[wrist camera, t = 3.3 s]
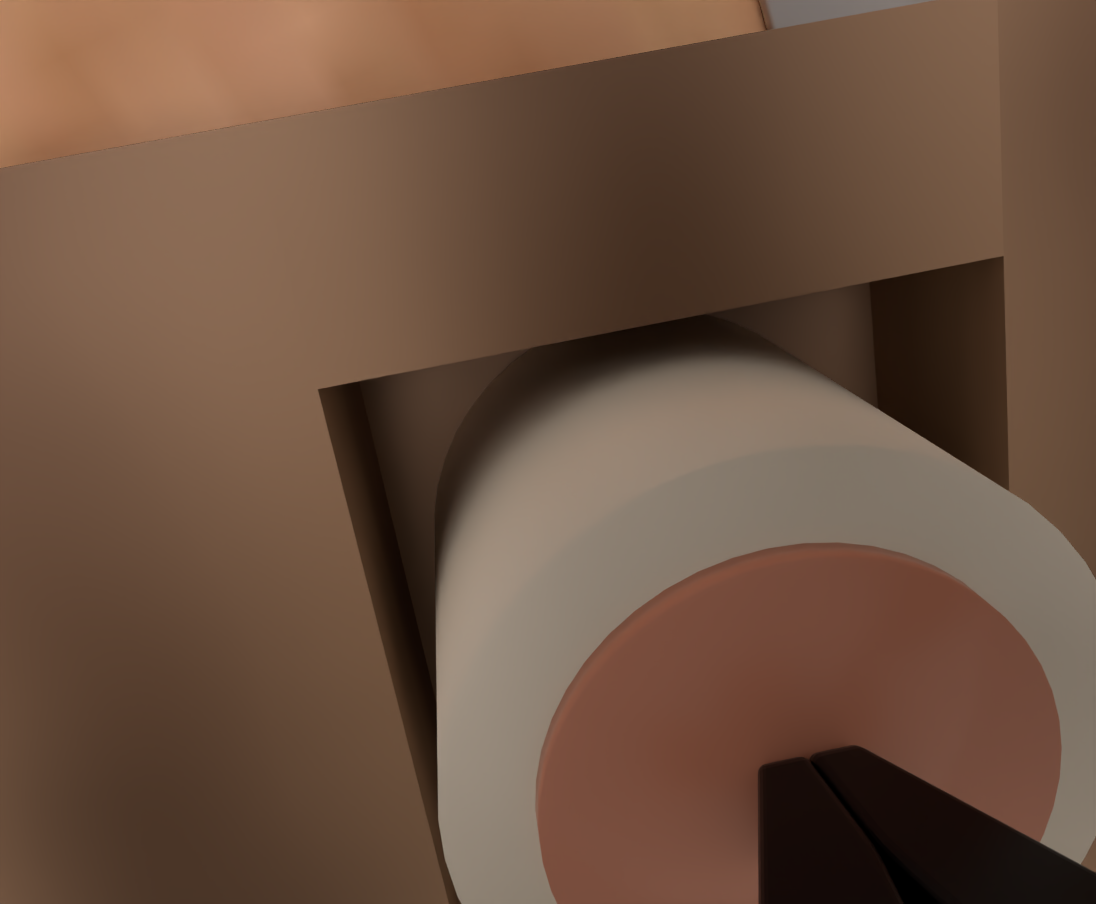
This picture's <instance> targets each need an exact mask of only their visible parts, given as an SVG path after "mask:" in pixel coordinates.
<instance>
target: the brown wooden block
mask: <svg viewBox="0 0 1096 904" xmlns="http://www.w3.org/2000/svg"><path fill="white" fill-rule="evenodd" d="M702 314H706V315H710V316H713V317H717V318H721V319H724V320H728V321H731V322H733V323H735V324H738V325H740V326H742V327H744V328H747V329H749V330H751V331H753V332H756V333H757V334H759V335H761V336H762V337H764V338H765V339H767V340H769V341H770V342H772V343H773V344H775V345H777V346H778V347H780V348H781V349H783V350H785V351H786V352H788V353H789V354H791V355H793V356H794V357H796V358H797V359H799V360H800V361H802V362H804V363H805V364H807V365H808V366H810V367H812V368H813V369H815V370H816V371H818V372H820V373H821V374H823V375H824V376H826V377H828V378H829V379H831V380H832V381H834V382H836V383H837V384H839V385H840V386H842V387H843V388H845V389H847V390H848V391H850V392H851V393H853V394H855V395H856V396H858V397H859V398H861V399H863V400H864V401H866V402H867V403H869V404H871V405H872V406H874V407H875V408H877V409H879V410H880V411H882V412H883V413H885V414H886V415H888V416H890V417H891V418H893V419H894V420H896V421H898V422H899V423H901V424H902V425H904V426H906V427H907V428H909V429H910V430H912V431H914V432H915V433H917V434H918V435H920V436H922V437H923V438H925V439H926V440H928V441H930V442H931V443H933V444H934V445H936V446H937V447H939V448H941V449H942V450H944V451H945V452H947V453H949V454H950V455H952V456H953V457H955V458H957V459H958V460H960V461H961V462H963V463H965V464H966V465H968V466H969V467H971V468H973V469H974V470H976V471H977V472H979V473H980V474H982V475H984V476H985V477H987V478H988V479H990V480H992V481H993V482H995V483H996V484H998V485H1000V486H1001V487H1003V488H1004V489H1006V490H1008V491H1009V492H1011V493H1012V494H1014V495H1016V496H1017V497H1019V498H1020V499H1022V500H1023V501H1025V502H1027V503H1028V504H1029V505H1031V506H1032V507H1033V508H1034V509H1035V510H1036V511H1037V512H1039V513H1040V514H1041V515H1042V516H1043V517H1044V518H1046V519H1047V520H1048V521H1049V522H1050V523H1051V524H1052V525H1054V526H1055V527H1056V528H1057V529H1058V530H1059V531H1060V532H1061V533H1062V534H1063V535H1064V537H1065V538H1066V539H1067V540H1068V541H1069V543H1070V544H1071V545H1072V546H1073V547H1074V549H1075V550H1076V551H1077V552H1078V553H1079V555H1080V556H1081V557H1082V558H1083V559H1084V561H1085V562H1086V564H1087V565H1088V567H1089V569H1090V570H1091V572H1092V574H1093V576H1094V577H1095V579H1096V0H934V1H928V2H922V3H917V4H911V5H906V6H900V7H895V8H889V9H884V10H878V11H872V12H867V13H861V14H856V15H850V16H845V17H839V18H833V19H828V20H822V21H817V22H811V23H806V24H800V25H795V26H789V27H783V28H778V29H772V30H767V31H761V32H756V33H750V34H744V35H739V36H733V37H728V38H722V39H717V40H711V41H706V42H700V43H694V44H689V45H683V46H678V47H672V48H667V49H661V50H655V51H650V52H644V53H639V54H633V55H628V56H622V57H616V58H611V59H605V60H600V61H594V62H589V63H583V64H578V65H572V66H566V67H561V68H555V69H550V70H544V71H539V72H533V73H527V74H522V75H516V76H511V77H505V78H500V79H494V80H489V81H483V82H477V83H472V84H466V85H461V86H455V87H450V88H444V89H438V90H433V91H427V92H422V93H416V94H411V95H405V96H400V97H394V98H388V99H383V100H377V101H372V102H366V103H361V104H355V105H349V106H344V107H338V108H333V109H327V110H322V111H316V112H310V113H305V114H299V115H294V116H288V117H283V118H277V119H272V120H266V121H260V122H255V123H249V124H244V125H238V126H233V127H227V128H221V129H216V130H210V131H205V132H199V133H194V134H188V135H183V136H177V137H171V138H166V139H160V140H155V141H149V142H144V143H138V144H132V145H127V146H121V147H116V148H110V149H105V150H99V151H94V152H88V153H82V154H77V155H71V156H66V157H60V158H55V159H49V160H43V161H38V162H32V163H27V164H21V165H16V166H10V167H4V168H0V904H461V902H460V900H459V898H458V896H457V894H456V891H455V888H454V885H453V882H452V879H451V876H450V873H449V870H448V867H447V864H446V861H445V857H444V851H443V846H442V840H441V834H440V828H439V822H438V764H437V685H436V607H435V526H434V510H435V502H436V495H437V487H438V482H439V479H440V475H441V471H442V468H443V464H444V460H445V457H446V455H447V453H448V450H449V448H450V446H451V443H452V441H453V439H454V436H455V434H456V432H457V430H458V428H459V427H460V425H461V423H462V422H463V420H464V418H465V417H466V415H467V413H468V412H469V410H470V408H471V407H472V406H473V404H474V403H475V402H476V401H477V399H478V398H479V397H480V396H481V394H482V393H483V392H484V391H485V389H486V388H487V387H488V385H489V384H490V383H491V382H492V381H493V380H494V379H496V378H497V377H498V376H499V375H500V374H501V373H502V372H503V371H504V370H505V369H506V368H507V367H508V366H509V365H510V364H511V363H513V362H514V361H515V360H517V359H518V358H519V357H521V356H522V355H523V354H525V353H526V352H527V351H529V350H530V349H531V348H533V347H537V346H543V345H548V344H553V343H558V342H563V341H568V340H573V339H579V338H584V337H589V336H594V335H599V334H604V333H610V332H615V331H620V330H625V329H630V328H635V327H640V326H646V325H651V324H656V323H661V322H666V321H671V320H676V319H682V318H687V317H692V316H697V315H702ZM1081 865H1083V866H1085V867H1087V868H1088V869H1090V870H1092V871H1094V872H1096V837H1095V839H1094V841H1093V843H1092V845H1091V847H1090V849H1089V850H1088V852H1087V854H1086V856H1085V858H1084V860H1083V861H1082V863H1081Z"/></svg>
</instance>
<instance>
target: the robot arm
mask: <svg viewBox="0 0 1096 904" xmlns="http://www.w3.org/2000/svg"><path fill="white" fill-rule="evenodd" d="M758 904H1096V872H1094V871H1092V870H1090V869H1088V868H1087V867H1085V866H1083V865H1081V864H1079V863H1077V862H1075V861H1074V860H1072V859H1070V858H1068V857H1066V856H1064V855H1062V854H1061V853H1059V852H1057V851H1055V850H1053V849H1051V848H1049V847H1048V846H1046V845H1044V844H1042V843H1040V842H1038V841H1036V840H1034V839H1033V838H1031V837H1029V836H1027V835H1025V834H1023V833H1021V832H1020V831H1018V830H1016V829H1014V828H1012V827H1010V826H1008V825H1007V824H1005V823H1003V822H1001V821H999V820H997V819H995V818H994V817H992V816H990V815H988V814H986V813H984V812H982V811H980V810H979V809H977V808H975V807H973V806H971V805H969V804H967V803H966V802H964V801H962V800H960V799H958V798H956V797H954V796H953V795H951V794H949V793H947V792H945V791H943V790H941V789H940V788H938V787H936V786H934V785H932V784H930V783H928V782H926V781H925V780H923V779H921V778H919V777H917V776H915V775H913V774H912V773H910V772H908V771H906V770H904V769H902V768H900V767H899V766H897V765H895V764H893V763H891V762H889V761H887V760H886V759H884V758H882V757H880V756H878V755H876V754H874V753H872V752H871V751H869V750H867V749H865V748H863V747H860V746H857V745H849V746H845V747H840V748H836V749H831V750H827V751H822V752H817V753H815V754H813V755H812V756H811V757H810V759H809V760H808V759H806V758H804V757H795V758H790V759H786V760H781V761H776V762H772V763H767V764H764V765H762V766H761V767H760V768H759V770H758Z"/></svg>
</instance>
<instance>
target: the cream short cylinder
mask: <svg viewBox="0 0 1096 904" xmlns="http://www.w3.org/2000/svg"><path fill="white" fill-rule="evenodd" d="M434 526H435V607H436V685H437V764H438V822H439V828H440V834H441V840H442V846H443V851H444V857H445V861H446V864H447V867H448V870H449V873H450V876H451V879H452V882H453V885H454V888H455V891H456V894H457V896H458V898H459V900H460V902H461V904H758V770H759V768H760V767H761V766H762V765H764V764H767V763H772V762H776V761H781V760H786V759H790V758H795V757H804V758H806V759H808V760H809V759H810V757H811V756H812V755H813V754H815V753H817V752H822V751H827V750H831V749H836V748H840V747H845V746H849V745H857V746H860V747H863V748H865V749H867V750H869V751H871V752H872V753H874V754H876V755H878V756H880V757H882V758H884V759H886V760H887V761H889V762H891V763H893V764H895V765H897V766H899V767H900V768H902V769H904V770H906V771H908V772H910V773H912V774H913V775H915V776H917V777H919V778H921V779H923V780H925V781H926V782H928V783H930V784H932V785H934V786H936V787H938V788H940V789H941V790H943V791H945V792H947V793H949V794H951V795H953V796H954V797H956V798H958V799H960V800H962V801H964V802H966V803H967V804H969V805H971V806H973V807H975V808H977V809H979V810H980V811H982V812H984V813H986V814H988V815H990V816H992V817H994V818H995V819H997V820H999V821H1001V822H1003V823H1005V824H1007V825H1008V826H1010V827H1012V828H1014V829H1016V830H1018V831H1020V832H1021V833H1023V834H1025V835H1027V836H1029V837H1031V838H1033V839H1034V840H1036V841H1038V842H1040V843H1042V844H1044V845H1046V846H1048V847H1049V848H1051V849H1053V850H1055V851H1057V852H1059V853H1061V854H1062V855H1064V856H1066V857H1068V858H1070V859H1072V860H1074V861H1075V862H1077V863H1079V864H1081V863H1082V861H1083V860H1084V858H1085V856H1086V854H1087V852H1088V850H1089V849H1090V847H1091V845H1092V843H1093V841H1094V839H1095V837H1096V579H1095V577H1094V576H1093V574H1092V572H1091V570H1090V569H1089V567H1088V565H1087V564H1086V562H1085V561H1084V559H1083V558H1082V557H1081V556H1080V555H1079V553H1078V552H1077V551H1076V550H1075V549H1074V547H1073V546H1072V545H1071V544H1070V543H1069V541H1068V540H1067V539H1066V538H1065V537H1064V535H1063V534H1062V533H1061V532H1060V531H1059V530H1058V529H1057V528H1056V527H1055V526H1054V525H1052V524H1051V523H1050V522H1049V521H1048V520H1047V519H1046V518H1044V517H1043V516H1042V515H1041V514H1040V513H1039V512H1037V511H1036V510H1035V509H1034V508H1033V507H1032V506H1031V505H1029V504H1028V503H1027V502H1025V501H1023V500H1022V499H1020V498H1019V497H1017V496H1016V495H1014V494H1012V493H1011V492H1009V491H1008V490H1006V489H1004V488H1003V487H1001V486H1000V485H998V484H996V483H995V482H993V481H992V480H990V479H988V478H987V477H985V476H984V475H982V474H980V473H979V472H977V471H976V470H974V469H973V468H971V467H969V466H968V465H966V464H965V463H963V462H961V461H960V460H958V459H957V458H955V457H953V456H952V455H950V454H949V453H947V452H945V451H944V450H942V449H941V448H939V447H937V446H936V445H934V444H933V443H931V442H930V441H928V440H926V439H925V438H923V437H922V436H920V435H918V434H917V433H915V432H914V431H912V430H910V429H909V428H907V427H906V426H904V425H902V424H901V423H899V422H898V421H896V420H894V419H893V418H891V417H890V416H888V415H886V414H885V413H883V412H882V411H880V410H879V409H877V408H875V407H874V406H872V405H871V404H869V403H867V402H866V401H864V400H863V399H861V398H859V397H858V396H856V395H855V394H853V393H851V392H850V391H848V390H847V389H845V388H843V387H842V386H840V385H839V384H837V383H836V382H834V381H832V380H831V379H829V378H828V377H826V376H824V375H823V374H821V373H820V372H818V371H816V370H815V369H813V368H812V367H810V366H808V365H807V364H805V363H804V362H802V361H800V360H799V359H797V358H796V357H794V356H793V355H791V354H789V353H788V352H786V351H785V350H783V349H781V348H780V347H778V346H777V345H775V344H773V343H772V342H770V341H769V340H767V339H765V338H764V337H762V336H761V335H759V334H757V333H756V332H753V331H751V330H749V329H747V328H744V327H742V326H740V325H738V324H735V323H733V322H731V321H728V320H724V319H721V318H717V317H713V316H710V315H706V314H702V315H697V316H692V317H687V318H682V319H676V320H671V321H666V322H661V323H656V324H651V325H646V326H640V327H635V328H630V329H625V330H620V331H615V332H610V333H604V334H599V335H594V336H589V337H584V338H579V339H573V340H568V341H563V342H558V343H553V344H548V345H543V346H537V347H533V348H531V349H530V350H529V351H527V352H526V353H525V354H523V355H522V356H521V357H519V358H518V359H517V360H515V361H514V362H513V363H511V364H510V365H509V366H508V367H507V368H506V369H505V370H504V371H503V372H502V373H501V374H500V375H499V376H498V377H497V378H496V379H494V380H493V381H492V382H491V383H490V384H489V385H488V387H487V388H486V389H485V391H484V392H483V393H482V394H481V396H480V397H479V398H478V399H477V401H476V402H475V403H474V404H473V406H472V407H471V408H470V410H469V412H468V413H467V415H466V417H465V418H464V420H463V422H462V423H461V425H460V427H459V428H458V430H457V432H456V434H455V436H454V439H453V441H452V443H451V446H450V448H449V450H448V453H447V455H446V457H445V460H444V464H443V468H442V471H441V475H440V479H439V482H438V487H437V495H436V502H435V510H434Z"/></svg>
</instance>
